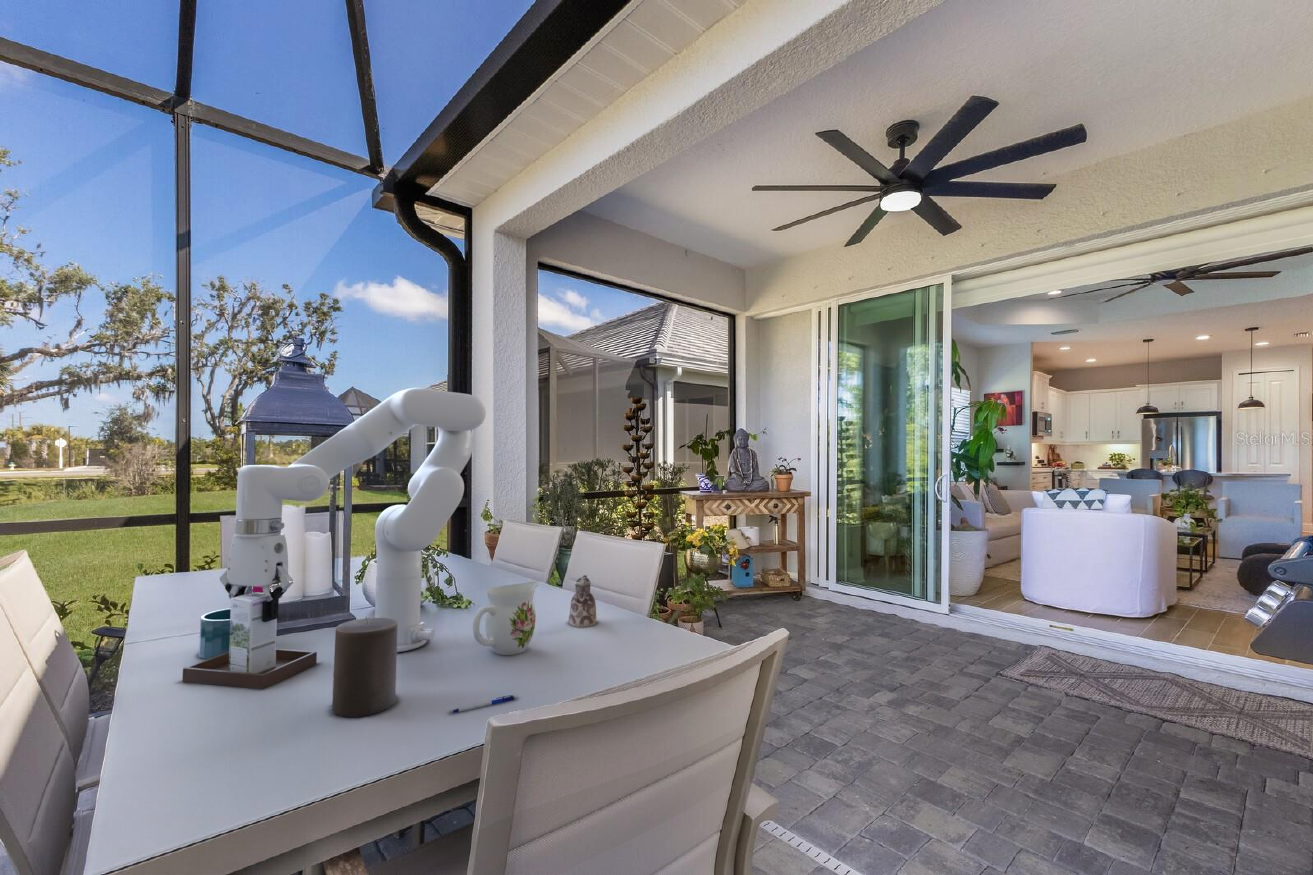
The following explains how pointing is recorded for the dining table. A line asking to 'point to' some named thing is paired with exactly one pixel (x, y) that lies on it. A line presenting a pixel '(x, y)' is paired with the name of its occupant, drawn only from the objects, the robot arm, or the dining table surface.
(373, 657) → the pillar candle
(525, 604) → the pitcher
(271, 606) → the robot arm
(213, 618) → the cup
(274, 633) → the syrup box
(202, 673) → the tray
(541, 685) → the dining table surface
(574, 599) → the figurine
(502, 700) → the ballpoint pen
